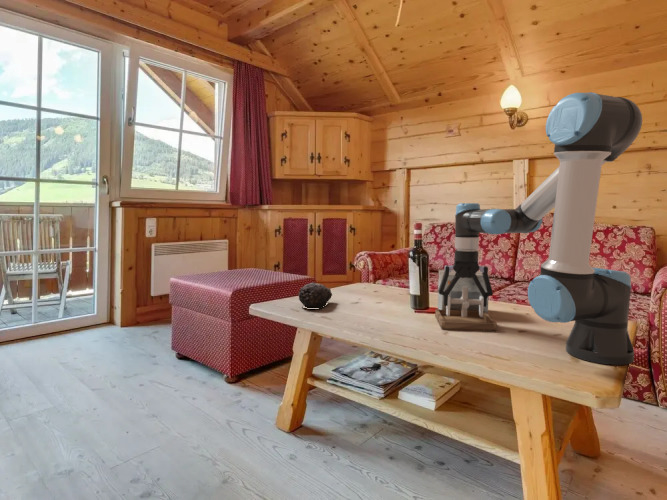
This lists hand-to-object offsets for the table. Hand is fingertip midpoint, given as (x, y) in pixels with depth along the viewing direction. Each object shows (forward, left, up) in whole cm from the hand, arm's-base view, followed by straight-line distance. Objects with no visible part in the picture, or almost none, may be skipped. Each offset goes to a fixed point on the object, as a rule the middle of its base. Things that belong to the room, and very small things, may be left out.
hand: (464, 315), depth 139 cm
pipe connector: (0, 0, -1) cm, 1 cm away
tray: (0, 0, -3) cm, 3 cm away
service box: (+16, -2, -3) cm, 16 cm away
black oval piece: (+19, +54, -3) cm, 57 cm away
